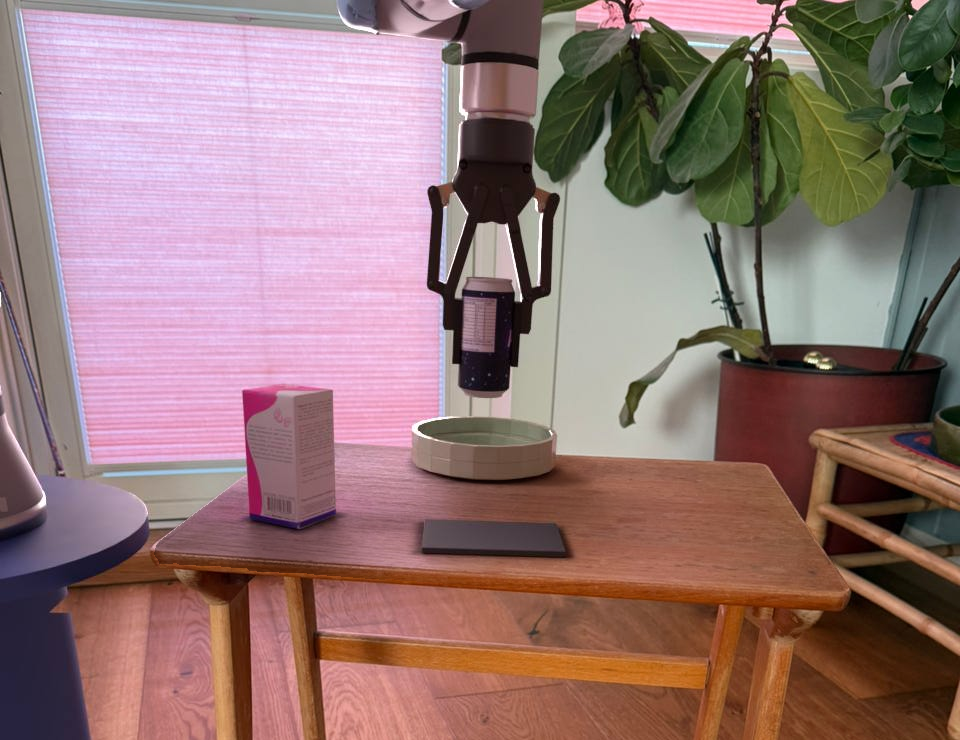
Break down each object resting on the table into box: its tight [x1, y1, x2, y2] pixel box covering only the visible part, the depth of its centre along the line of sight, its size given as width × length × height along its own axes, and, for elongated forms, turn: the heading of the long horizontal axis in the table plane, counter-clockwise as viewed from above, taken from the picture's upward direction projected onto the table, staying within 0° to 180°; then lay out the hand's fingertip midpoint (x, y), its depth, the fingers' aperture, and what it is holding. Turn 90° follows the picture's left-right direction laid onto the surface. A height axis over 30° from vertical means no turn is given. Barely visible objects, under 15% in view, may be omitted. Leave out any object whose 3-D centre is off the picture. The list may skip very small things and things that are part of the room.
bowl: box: [411, 415, 558, 481], centre depth 103 cm, size 16×16×4 cm
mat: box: [421, 518, 567, 558], centre depth 79 cm, size 12×8×1 cm, turn 92°
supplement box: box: [241, 383, 337, 530], centre depth 81 cm, size 6×6×12 cm
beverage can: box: [457, 276, 516, 399], centre depth 98 cm, size 6×6×12 cm
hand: (484, 363), depth 99 cm, fingers closed on beverage can, 6 cm apart
